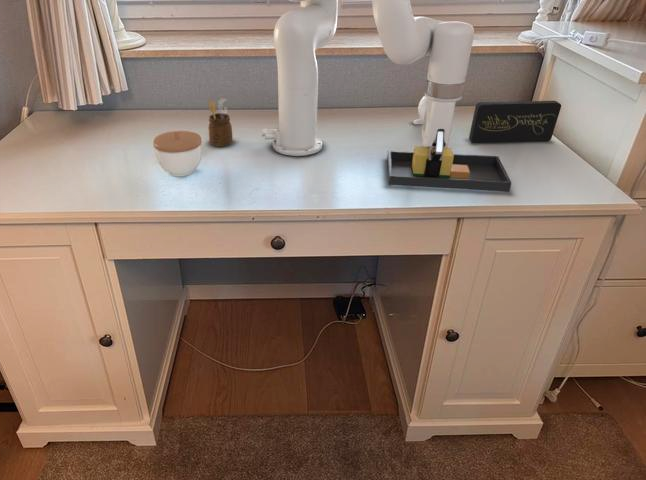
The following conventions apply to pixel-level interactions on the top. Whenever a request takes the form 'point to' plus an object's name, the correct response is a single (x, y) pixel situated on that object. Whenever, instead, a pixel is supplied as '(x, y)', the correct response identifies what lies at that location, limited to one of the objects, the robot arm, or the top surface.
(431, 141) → the robot arm
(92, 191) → the top surface
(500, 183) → the black shallow rectangular tray
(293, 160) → the top surface
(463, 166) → the orange square block
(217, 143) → the utensil holder
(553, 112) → the nameplate
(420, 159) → the sponge
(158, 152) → the trinket box
